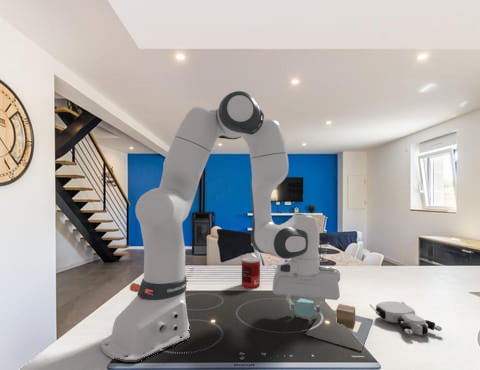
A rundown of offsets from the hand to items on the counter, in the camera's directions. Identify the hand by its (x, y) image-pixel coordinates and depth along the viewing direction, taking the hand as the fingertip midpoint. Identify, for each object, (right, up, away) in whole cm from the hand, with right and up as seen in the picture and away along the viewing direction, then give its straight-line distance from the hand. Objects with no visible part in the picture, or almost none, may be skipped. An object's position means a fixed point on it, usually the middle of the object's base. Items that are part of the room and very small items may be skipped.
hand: (305, 310), depth 82 cm
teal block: (0, -2, 0) cm, 2 cm away
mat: (+9, -2, -7) cm, 11 cm away
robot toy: (+28, -2, -5) cm, 28 cm away
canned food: (-16, -3, +29) cm, 33 cm away
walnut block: (+10, -1, -6) cm, 12 cm away
